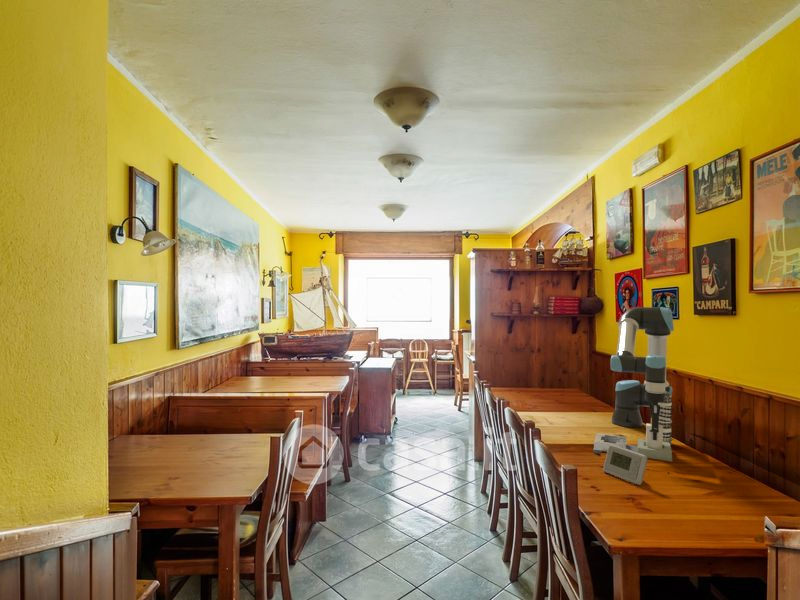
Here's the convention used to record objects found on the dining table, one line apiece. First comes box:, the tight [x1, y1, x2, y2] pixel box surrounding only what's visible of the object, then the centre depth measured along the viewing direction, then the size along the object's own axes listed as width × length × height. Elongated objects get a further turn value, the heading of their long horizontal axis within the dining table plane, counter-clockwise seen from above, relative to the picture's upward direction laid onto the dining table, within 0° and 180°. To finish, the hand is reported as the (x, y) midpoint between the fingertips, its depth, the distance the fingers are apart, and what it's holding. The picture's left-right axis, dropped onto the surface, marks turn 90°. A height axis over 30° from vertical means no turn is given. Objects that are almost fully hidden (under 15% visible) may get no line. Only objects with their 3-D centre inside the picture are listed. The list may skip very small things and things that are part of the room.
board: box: [592, 443, 673, 462], centre depth 202 cm, size 30×16×2 cm, turn 63°
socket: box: [593, 432, 627, 452], centre depth 206 cm, size 12×15×4 cm
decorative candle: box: [658, 392, 674, 446], centre depth 214 cm, size 9×9×25 cm
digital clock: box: [602, 444, 649, 486], centre depth 175 cm, size 16×9×11 cm, turn 16°
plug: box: [645, 417, 663, 450], centre depth 198 cm, size 6×4×15 cm
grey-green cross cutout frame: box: [637, 438, 673, 462], centre depth 198 cm, size 12×15×4 cm
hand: (654, 444), depth 198 cm, fingers open, 9 cm apart
